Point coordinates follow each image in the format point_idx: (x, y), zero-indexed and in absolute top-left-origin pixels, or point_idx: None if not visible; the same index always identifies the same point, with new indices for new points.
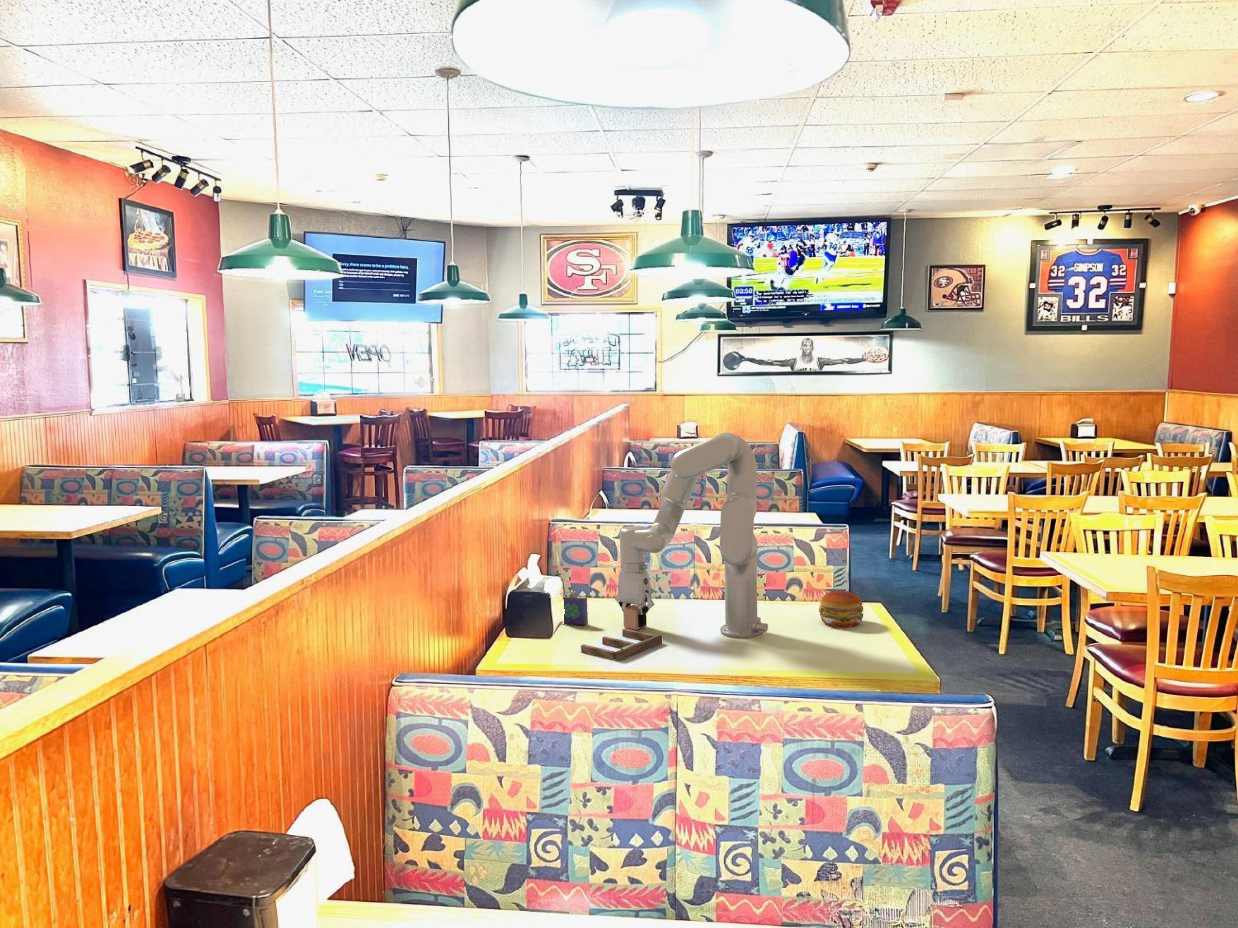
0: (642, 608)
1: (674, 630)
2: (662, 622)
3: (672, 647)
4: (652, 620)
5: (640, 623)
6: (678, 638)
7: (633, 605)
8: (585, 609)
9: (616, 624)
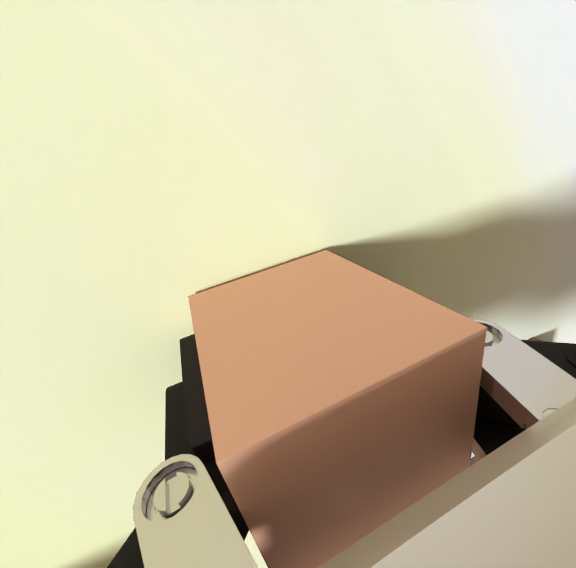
0: (470, 390)
1: (506, 150)
2: (327, 26)
3: (573, 328)
4: (189, 39)
5: None
6: (563, 240)
7: (271, 470)
8: None
9: (94, 426)
